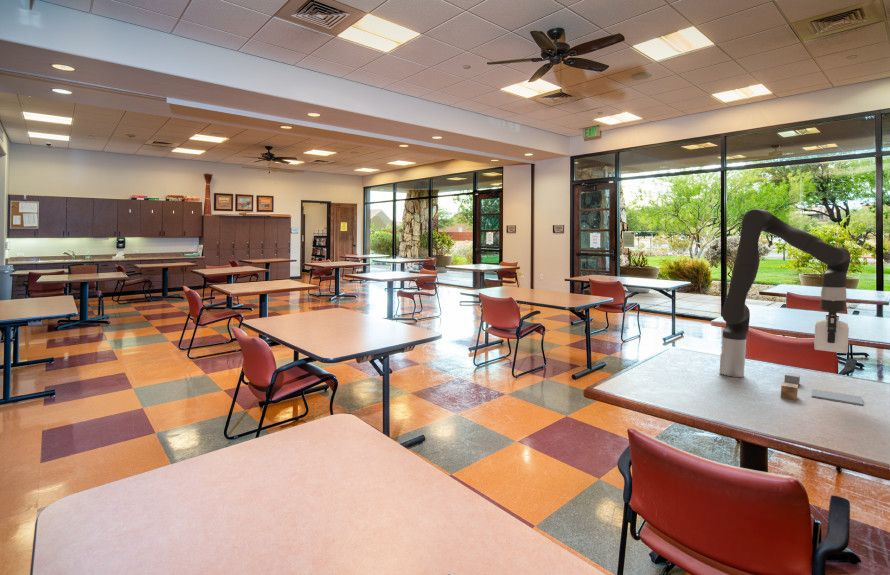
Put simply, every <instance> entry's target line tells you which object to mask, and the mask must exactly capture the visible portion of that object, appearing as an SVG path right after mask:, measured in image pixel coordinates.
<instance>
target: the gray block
mask: <svg viewBox="0 0 890 575" xmlns="http://www.w3.org/2000/svg"><path fill="white" fill-rule="evenodd" d="M800 379H801V375H800V374H799V373H798V374H797V373H789V372H785V373H784V381H783V382H784V383H790V384H796V385H798V387H799V386H800V382H801V381H800Z"/></svg>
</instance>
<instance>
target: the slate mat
mask: <svg viewBox="0 0 890 575" xmlns="http://www.w3.org/2000/svg"><path fill="white" fill-rule="evenodd" d="M815 397H816V399H821V398H822V400H827V399H828V400H827V401H834V402H841V403H845V404H852V405H857V406H862V405H864V402H863V397H862V396H859V395H854V394H847V393H840V392H833V391H827V390H822V389H815V388H812V390H811V398H815Z"/></svg>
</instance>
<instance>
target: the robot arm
mask: <svg viewBox="0 0 890 575" xmlns="http://www.w3.org/2000/svg"><path fill="white" fill-rule="evenodd" d="M740 227H741V228H740V238H739V242H738V246H737V251H736V255H735V259H734V263H733V267H732V272H731V276H730V277H731V278H730V282H729V287H728V291H727V294H726V298H725V302H724V304H723V306H722V309H721V318H722V320H723V321H724V322H725V326H724V329H723V330H722V336H721V337H722V339H721V340H722V341H721V353H720V357H719V358H720V359H719V375H723V374H724V375H723V376H726V375H727V377H731V376H732V378H733V377H734V378H741V377H744V376H745V368H746V367H745V364H746V353H747V352H746V350H747V348H746V347H747V336H748V333H749V328H750V319H751V317H750V316H751V313H750V309H749V307H748V306H747V305H746V300H747V296H748V293H749V291H750V290H751V288H752V286H753V284H754V282H755V280H756V278H757V275H758V270H759V268H760V267H759V266H760V251H759V250H760V249H759V241H760V237H761V235H762V232H765V233H768V234H771V235H772V236H776V237H778V238H780V239H781V240H783V241H784V242H785V243H787V244H788V245H790V246H792V247H793V248H794V249H795V248H796V249H797V250H799V251H802V252H803V253H806V254H808V255H810V256H811V257H813V258H814V259H816V260H817V261H819V262H821V263H823V264H825V265H826V267H827V268H826V271H825V272H824V273H823V275H822V282H821V283H822V285H821V291H820V304H819V305H820V309H819V310H821V311H822V312H823V311H825V312H828V314H825V320H826V327H828V330H827V332H828V339H827V342H828V343H835V334H836V328H837V327H838V321H840V315H839V314H837V312H839V313H840V312H841V313H842V312H843V313H844V312H845V311H846V310H847V309H846V308H847V274H848V271H849V268H850V264H851V253H850V251H849V250H848V249H847V248H845V247H843V246H833V245H832V244H829V243H827V242H824V240H823V239H822V238H821V237H818V236H816V235H814V234H812V233H809V232H807V231H805V230H802V229H800V228H797V227H796V226H794V225H791V224H789V223H788V222H785V221H784V220H782V219H780V218H778V217H777V216H776V215H774V214H773V213H771V212H770V211H769V210H766V209H762V208H761V209H760V208H752V209H750V210H748V211H747V212H745V213H744V215H743V217H742V219H741V225H740ZM830 327H833V328H834V329H829V328H830Z"/></svg>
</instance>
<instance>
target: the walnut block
mask: <svg viewBox="0 0 890 575" xmlns="http://www.w3.org/2000/svg"><path fill="white" fill-rule="evenodd" d="M798 389H799V386H798V385H796V384H790V383H784V381H783V382H782V383H781V388H780V398H781V399H786V400H793V401H797V400H798V393H799V392H798V391H799V390H798Z"/></svg>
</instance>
